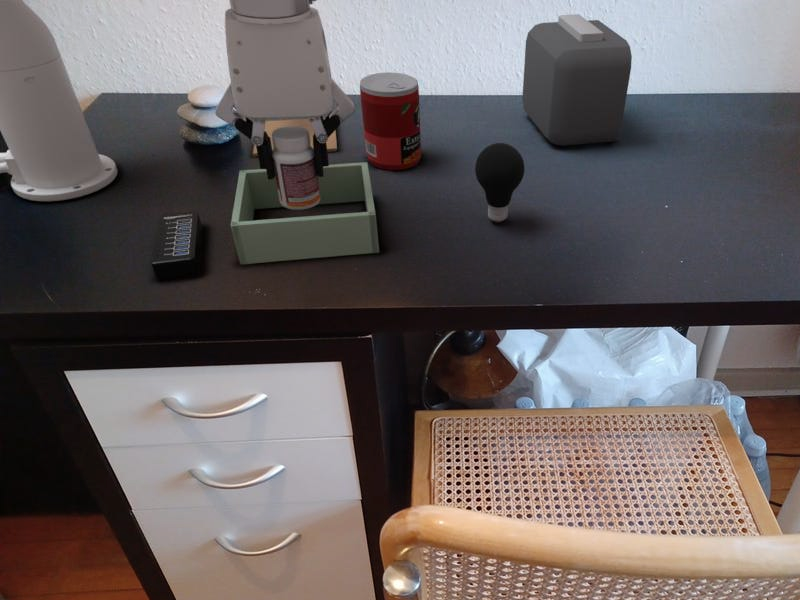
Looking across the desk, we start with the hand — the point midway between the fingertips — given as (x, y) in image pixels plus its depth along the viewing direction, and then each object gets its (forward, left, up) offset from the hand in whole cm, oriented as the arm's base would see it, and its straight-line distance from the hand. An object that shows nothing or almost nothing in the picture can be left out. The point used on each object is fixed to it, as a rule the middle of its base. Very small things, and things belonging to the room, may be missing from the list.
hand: (295, 171), depth 76 cm
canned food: (+13, +18, -8) cm, 23 cm away
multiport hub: (-14, -3, -8) cm, 16 cm away
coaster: (-1, +28, -7) cm, 29 cm away
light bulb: (+24, -2, -8) cm, 25 cm away
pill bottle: (0, 0, -4) cm, 4 cm away
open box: (+1, 0, -7) cm, 7 cm away
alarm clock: (+41, +25, -8) cm, 48 cm away
